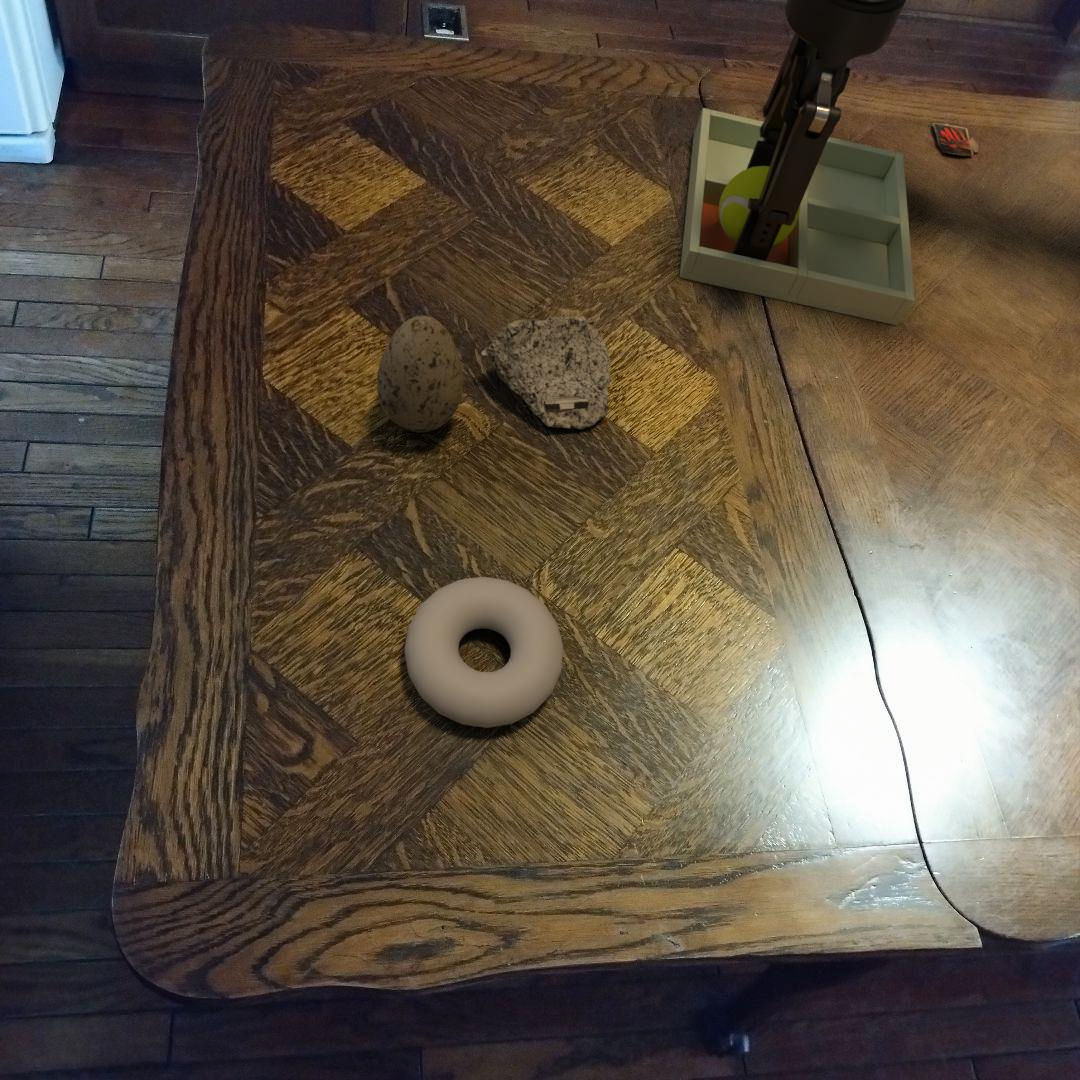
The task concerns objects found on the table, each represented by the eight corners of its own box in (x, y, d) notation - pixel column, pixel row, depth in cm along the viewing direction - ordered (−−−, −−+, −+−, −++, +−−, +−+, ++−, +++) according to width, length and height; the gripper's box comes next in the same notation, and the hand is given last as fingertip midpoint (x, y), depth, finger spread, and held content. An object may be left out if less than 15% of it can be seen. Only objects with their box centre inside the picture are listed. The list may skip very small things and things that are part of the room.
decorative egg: (434, 463, 70) (443, 372, 62) (361, 428, 71) (360, 333, 62) (472, 407, 73) (486, 312, 65) (401, 374, 74) (406, 276, 66)
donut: (429, 575, 66) (382, 709, 60) (433, 548, 63) (383, 687, 58) (573, 617, 66) (538, 755, 60) (583, 592, 63) (547, 735, 58)
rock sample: (549, 438, 68) (550, 308, 67) (475, 433, 73) (475, 312, 72) (644, 432, 75) (647, 315, 74) (571, 428, 81) (572, 318, 79)
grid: (888, 180, 95) (903, 153, 92) (898, 326, 85) (915, 300, 82) (693, 135, 94) (702, 107, 91) (679, 277, 84) (689, 250, 81)
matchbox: (944, 158, 98) (946, 154, 98) (923, 124, 100) (925, 120, 100) (984, 156, 99) (986, 152, 99) (962, 123, 102) (964, 119, 101)
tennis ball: (798, 246, 86) (828, 184, 80) (749, 277, 83) (777, 215, 77) (743, 202, 88) (768, 138, 82) (693, 231, 85) (716, 166, 79)
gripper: (803, -113, 71) (710, 155, 90) (802, 43, 61) (697, 308, 80) (904, -90, 71) (789, 173, 91) (920, 70, 61) (787, 327, 80)
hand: (746, 236), depth 85 cm, fingers closed on tennis ball, 7 cm apart
